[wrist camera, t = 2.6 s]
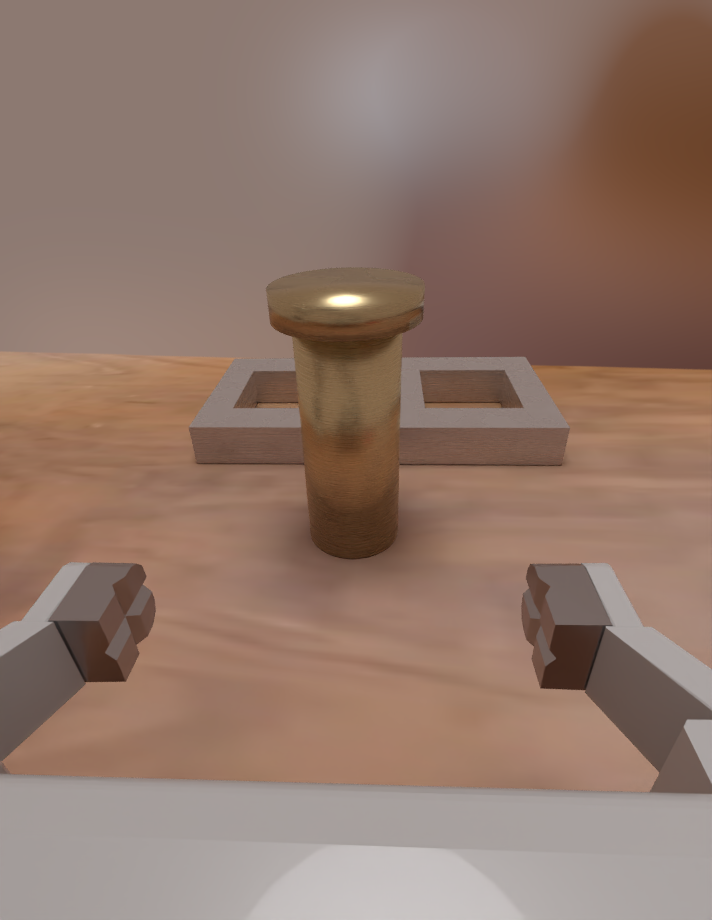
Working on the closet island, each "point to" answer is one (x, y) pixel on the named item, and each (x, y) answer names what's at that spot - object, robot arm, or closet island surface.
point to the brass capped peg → (349, 396)
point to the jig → (421, 429)
